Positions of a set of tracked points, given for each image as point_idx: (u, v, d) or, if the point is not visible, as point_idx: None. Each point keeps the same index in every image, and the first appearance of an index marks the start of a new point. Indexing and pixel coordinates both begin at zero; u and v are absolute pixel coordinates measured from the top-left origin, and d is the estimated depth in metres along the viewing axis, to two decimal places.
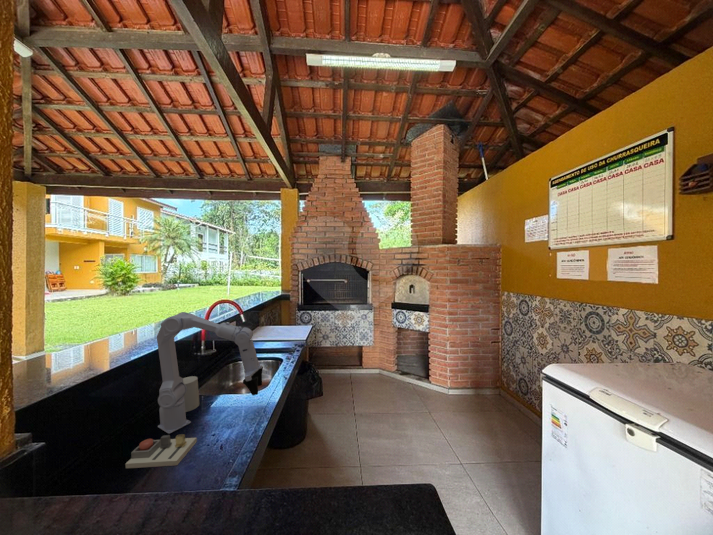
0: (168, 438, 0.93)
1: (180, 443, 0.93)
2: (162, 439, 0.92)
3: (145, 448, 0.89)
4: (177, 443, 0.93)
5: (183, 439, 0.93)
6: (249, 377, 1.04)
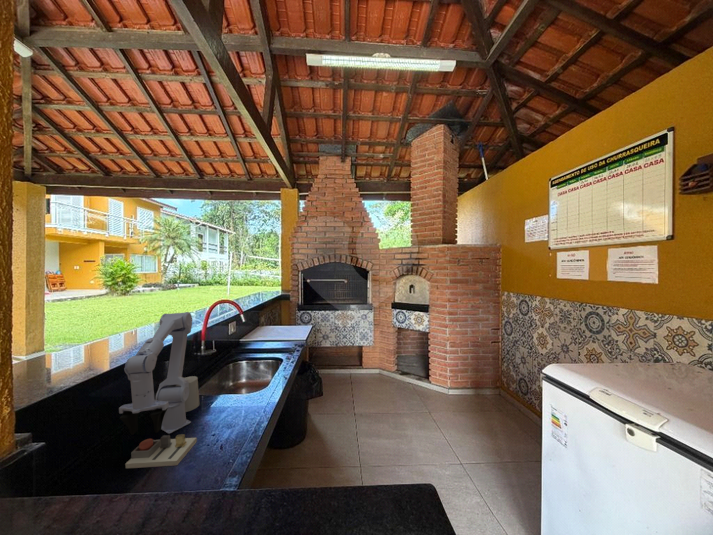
0: (168, 438, 0.93)
1: (180, 443, 0.93)
2: (162, 439, 0.92)
3: (145, 448, 0.89)
4: (177, 443, 0.93)
5: (183, 439, 0.93)
6: None
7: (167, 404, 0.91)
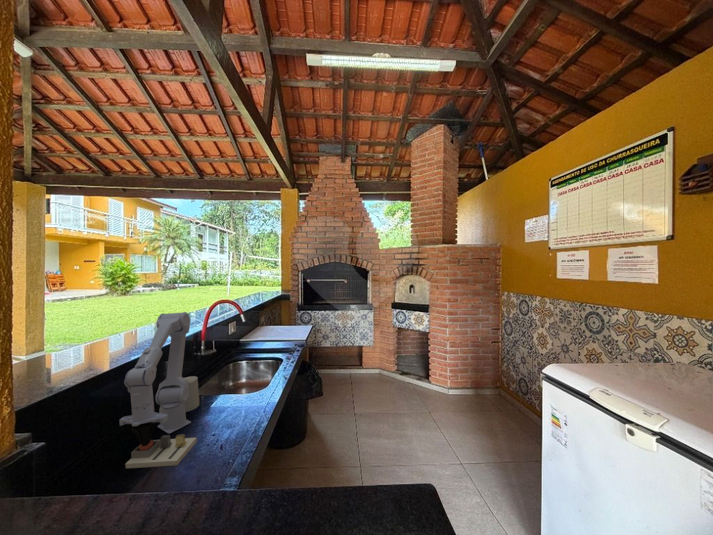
0: (168, 438, 0.93)
1: (180, 443, 0.93)
2: (162, 439, 0.92)
3: None
4: (177, 443, 0.93)
5: (183, 439, 0.93)
6: None
7: (166, 417, 0.91)
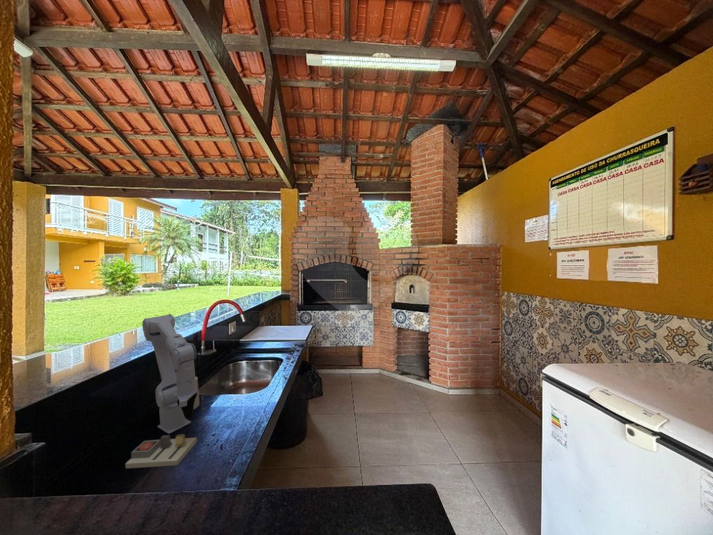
0: (168, 438, 0.93)
1: (180, 443, 0.93)
2: (162, 439, 0.92)
3: None
4: (177, 443, 0.93)
5: (183, 439, 0.93)
6: None
7: (184, 403, 0.91)
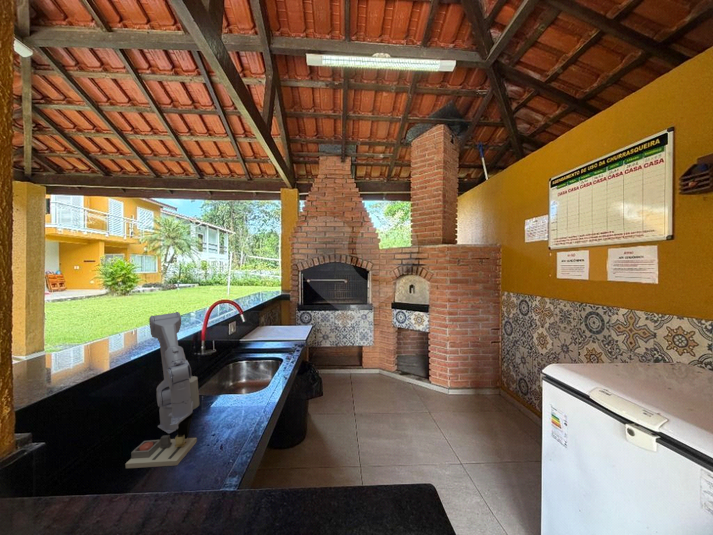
0: (168, 438, 0.93)
1: (180, 443, 0.92)
2: (162, 439, 0.92)
3: None
4: (177, 443, 0.92)
5: (183, 439, 0.93)
6: None
7: (174, 426, 0.88)
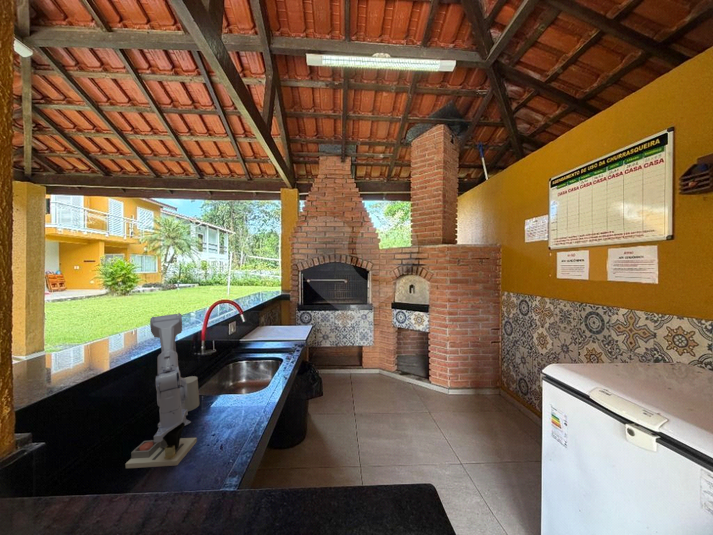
0: None
1: (169, 454, 0.87)
2: None
3: None
4: (166, 454, 0.87)
5: (173, 450, 0.88)
6: None
7: (158, 438, 0.82)
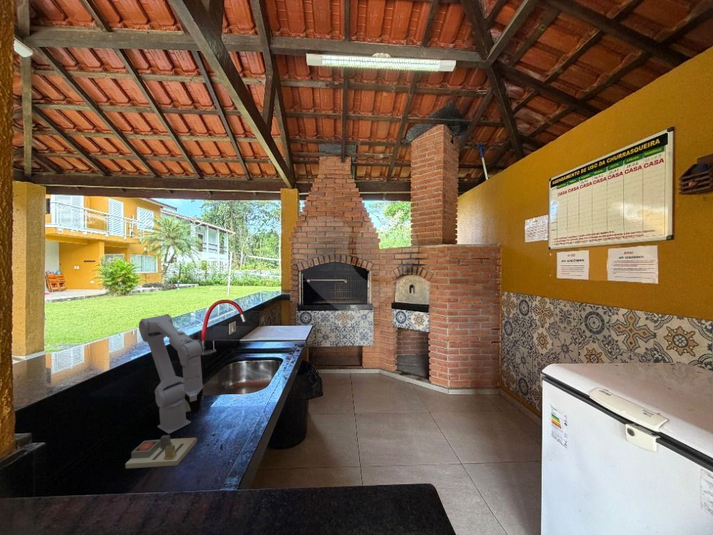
0: (168, 438, 0.93)
1: (169, 455, 0.87)
2: (162, 439, 0.92)
3: None
4: (166, 455, 0.87)
5: (173, 450, 0.87)
6: None
7: (194, 397, 0.93)
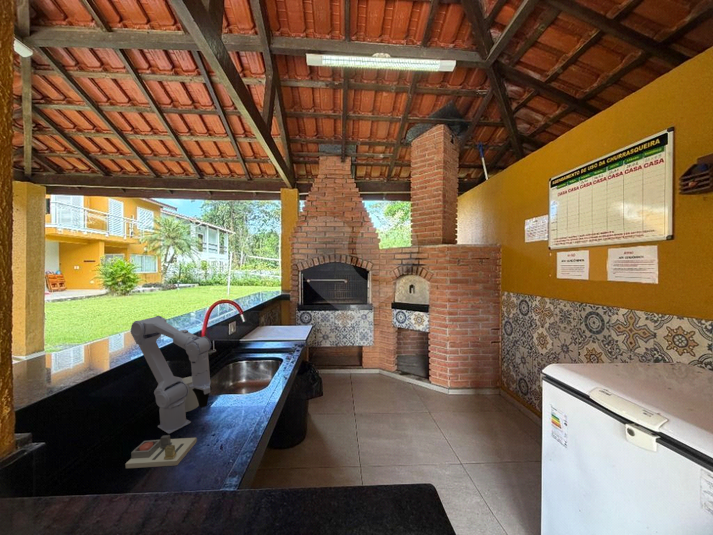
0: (168, 438, 0.93)
1: (169, 455, 0.87)
2: (162, 439, 0.92)
3: None
4: (166, 455, 0.87)
5: (173, 450, 0.87)
6: None
7: (208, 389, 0.98)
